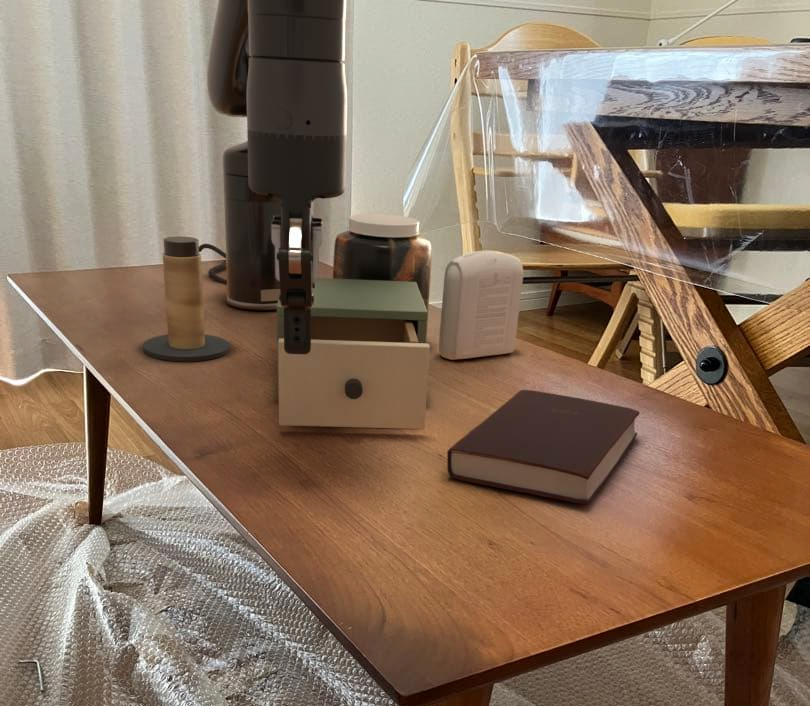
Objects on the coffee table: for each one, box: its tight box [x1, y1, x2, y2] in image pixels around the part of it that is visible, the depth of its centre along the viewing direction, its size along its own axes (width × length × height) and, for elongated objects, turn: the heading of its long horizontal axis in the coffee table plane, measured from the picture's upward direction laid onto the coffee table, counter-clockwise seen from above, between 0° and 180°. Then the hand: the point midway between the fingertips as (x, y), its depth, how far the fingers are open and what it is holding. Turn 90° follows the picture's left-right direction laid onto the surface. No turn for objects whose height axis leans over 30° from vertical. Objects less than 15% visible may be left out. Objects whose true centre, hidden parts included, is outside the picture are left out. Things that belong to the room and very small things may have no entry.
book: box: [447, 389, 640, 505], centre depth 83 cm, size 12×19×3 cm, turn 155°
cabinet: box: [276, 277, 429, 403], centre depth 98 cm, size 14×15×10 cm
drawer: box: [278, 316, 431, 430], centre depth 89 cm, size 14×14×8 cm
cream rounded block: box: [438, 249, 524, 361], centre depth 110 cm, size 10×4×12 cm, turn 123°
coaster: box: [142, 334, 231, 363], centre depth 108 cm, size 10×10×1 cm
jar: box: [332, 213, 432, 340], centre depth 111 cm, size 12×12×15 cm
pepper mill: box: [162, 236, 206, 350], centre depth 105 cm, size 4×4×12 cm
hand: (297, 351), depth 77 cm, fingers closed
